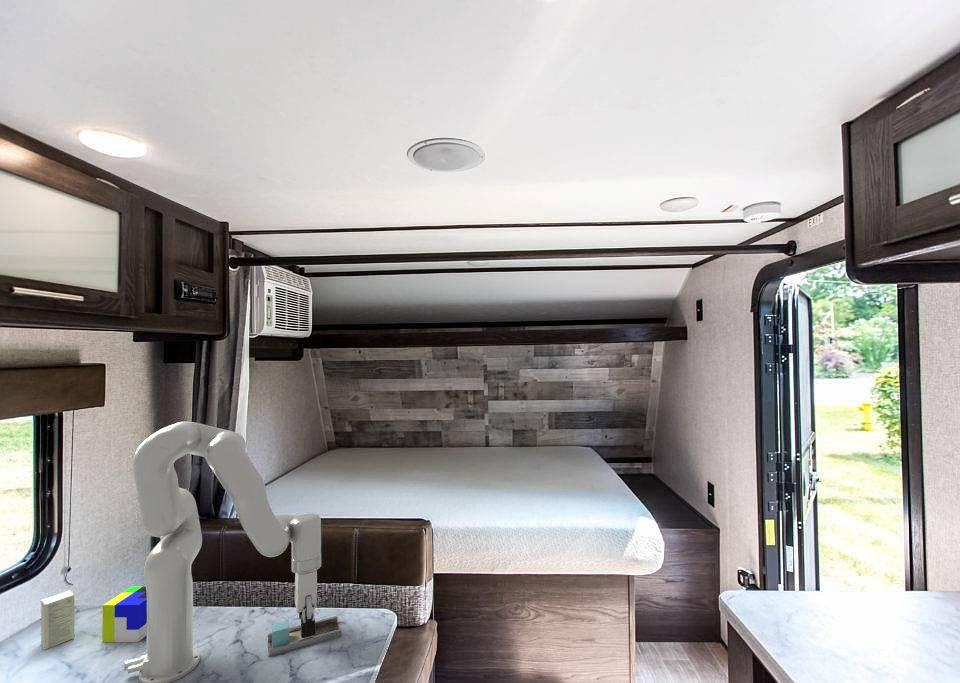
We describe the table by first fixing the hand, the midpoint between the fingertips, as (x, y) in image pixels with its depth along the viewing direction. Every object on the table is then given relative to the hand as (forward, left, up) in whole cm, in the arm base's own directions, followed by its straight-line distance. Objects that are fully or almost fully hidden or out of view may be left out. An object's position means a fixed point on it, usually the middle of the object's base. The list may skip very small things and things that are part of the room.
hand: (306, 626), depth 122 cm
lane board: (-1, 0, -4) cm, 4 cm away
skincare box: (-62, +32, -4) cm, 69 cm away
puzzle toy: (-44, +28, -4) cm, 52 cm away
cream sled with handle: (-4, 0, -3) cm, 5 cm away
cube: (-7, 0, -2) cm, 7 cm away
